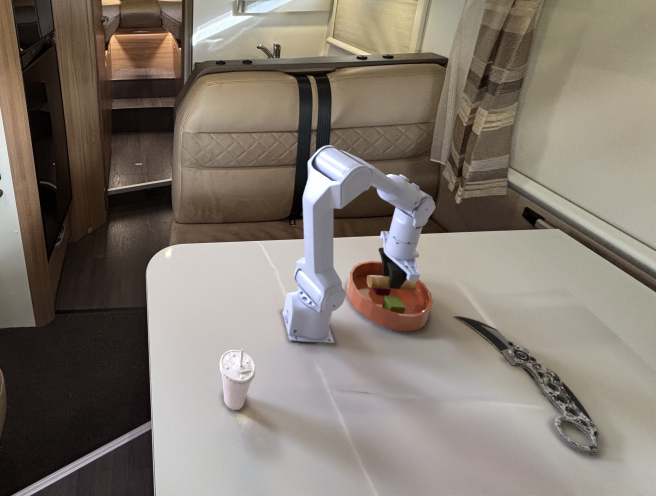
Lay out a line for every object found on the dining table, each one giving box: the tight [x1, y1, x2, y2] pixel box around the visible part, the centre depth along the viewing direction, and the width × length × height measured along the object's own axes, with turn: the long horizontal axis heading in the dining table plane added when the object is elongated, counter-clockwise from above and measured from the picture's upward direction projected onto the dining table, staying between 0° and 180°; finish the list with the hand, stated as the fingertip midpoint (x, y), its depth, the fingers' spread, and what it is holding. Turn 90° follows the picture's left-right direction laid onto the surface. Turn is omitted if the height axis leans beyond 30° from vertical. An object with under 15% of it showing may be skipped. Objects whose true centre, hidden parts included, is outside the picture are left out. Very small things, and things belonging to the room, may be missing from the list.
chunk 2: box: [382, 296, 405, 314], centre depth 99 cm, size 3×3×3 cm
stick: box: [367, 275, 417, 290], centre depth 100 cm, size 10×3×3 cm, turn 85°
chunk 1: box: [373, 275, 391, 295], centre depth 105 cm, size 3×3×3 cm
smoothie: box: [219, 347, 256, 411], centre depth 78 cm, size 6×6×14 cm
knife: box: [453, 315, 600, 455], centre depth 85 cm, size 28×2×10 cm
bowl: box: [346, 260, 434, 332], centre depth 102 cm, size 17×17×5 cm
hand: (390, 282), depth 100 cm, fingers closed on stick, 3 cm apart
